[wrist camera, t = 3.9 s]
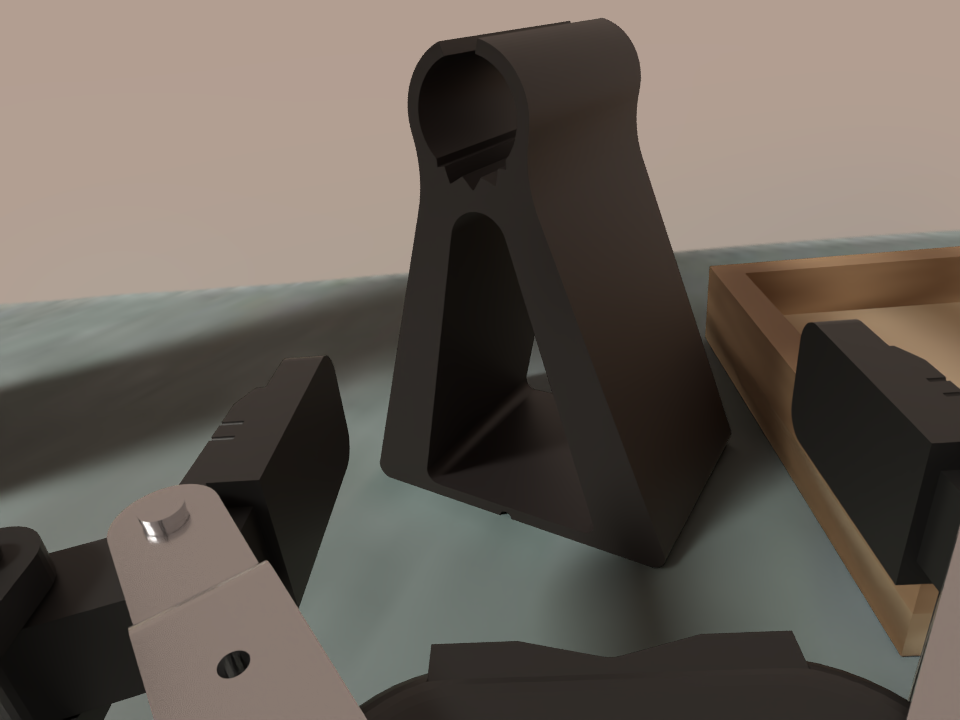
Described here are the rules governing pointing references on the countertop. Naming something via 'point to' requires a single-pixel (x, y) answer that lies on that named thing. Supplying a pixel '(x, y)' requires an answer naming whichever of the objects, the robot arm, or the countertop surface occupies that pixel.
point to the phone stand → (548, 299)
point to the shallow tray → (773, 360)
